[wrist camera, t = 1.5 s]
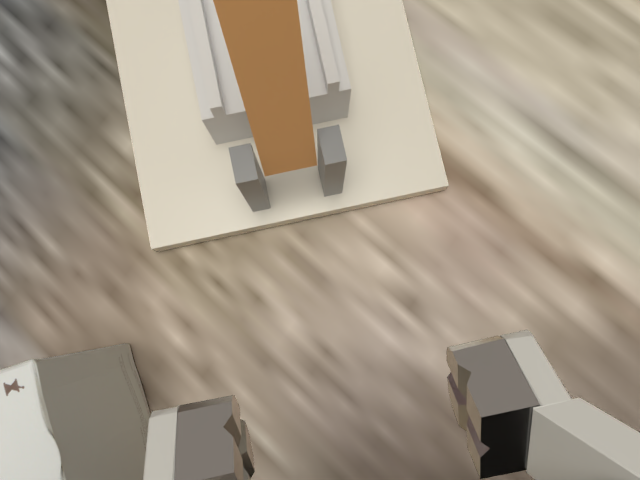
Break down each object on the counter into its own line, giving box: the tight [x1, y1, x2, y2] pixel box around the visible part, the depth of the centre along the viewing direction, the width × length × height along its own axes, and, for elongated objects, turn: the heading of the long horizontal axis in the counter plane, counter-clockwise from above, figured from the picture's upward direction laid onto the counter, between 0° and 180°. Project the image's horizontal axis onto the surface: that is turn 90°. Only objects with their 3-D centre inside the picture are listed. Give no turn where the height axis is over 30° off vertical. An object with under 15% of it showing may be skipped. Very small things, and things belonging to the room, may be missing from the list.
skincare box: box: [0, 344, 151, 480], centre depth 33 cm, size 8×6×15 cm
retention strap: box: [213, 0, 317, 176], centre depth 26 cm, size 18×3×1 cm
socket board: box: [106, 0, 449, 252], centre depth 38 cm, size 20×22×11 cm
